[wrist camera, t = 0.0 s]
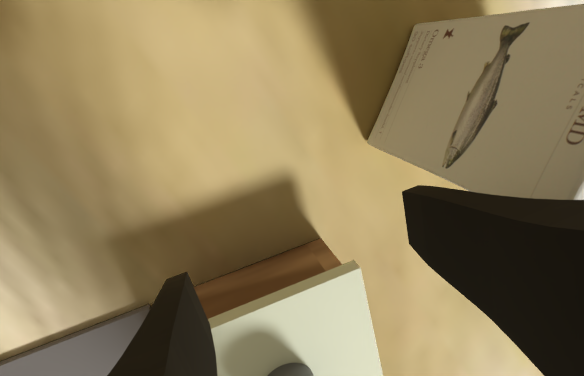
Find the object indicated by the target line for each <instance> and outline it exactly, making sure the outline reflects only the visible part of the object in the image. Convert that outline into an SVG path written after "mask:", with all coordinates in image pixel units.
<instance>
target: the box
mask: <svg viewBox="0 0 584 376" xmlns="http://www.w3.org/2000/svg"><path fill="white" fill-rule="evenodd" d="M340 265H342V264H341V263H340V261H339V260H338V259H337V258H336V256H335V255H334V254H333V253H332V251H331V250H330V249H329V248H328V246H327V245H326V244H325V243H324V241H323V240H322V239H321V238H320V239H317V240H315V241H312V242H309V243H307V244H304V245H302V246H299V247H296V248H294V249H291V250H289V251H286V252H283V253H281V254H278V255H276V256H273V257H270V258H268V259H265V260H263V261H260V262H257V263H255V264H252V265H250V266H247V267H245V268H242V269H239V270H237V271H234V272H232V273H229V274H226V275H224V276H221V277H219V278H216V279H213V280H211V281H208V282H206V283H203V284H200V285H198V286H195V287H194V289H195V291H196V293H197V296H198V298H199V300H200V303H201V305H202V307H203V310H204V312H205V314H206V316H207V319H209V318H212V317H214V316H217V315H219V314H222V313H224V312H226V311H229V310H231V309H234V308H236V307H239V306H241V305H244V304H246V303H249V302H251V301H254V300H256V299H259V298H261V297H264V296H266V295H269V294H271V293H274V292H276V291H279V290H281V289H283V288H286V287H288V286H291V285H293V284H296V283H298V282H301V281H303V280H306V279H308V278H311V277H313V276H316V275H318V274H321V273H323V272H326V271H328V270H331V269H333V268H335V267H338V266H340Z"/></svg>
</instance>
